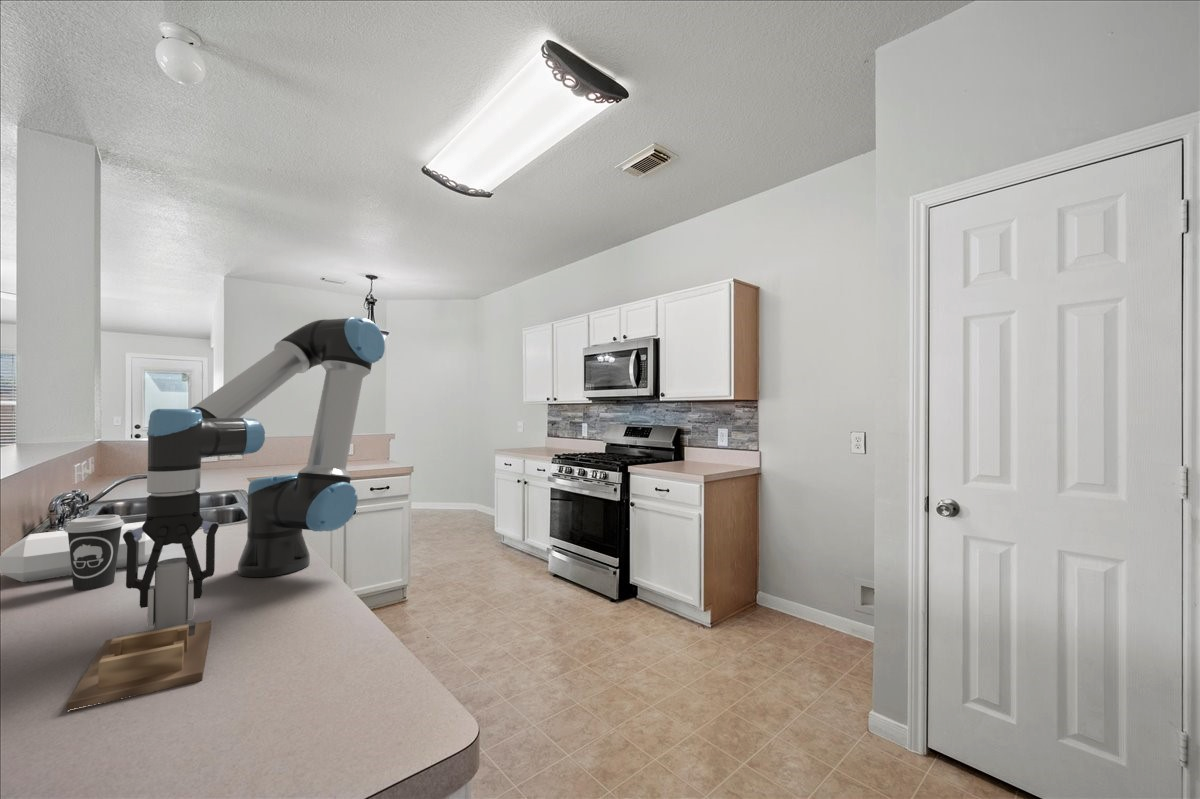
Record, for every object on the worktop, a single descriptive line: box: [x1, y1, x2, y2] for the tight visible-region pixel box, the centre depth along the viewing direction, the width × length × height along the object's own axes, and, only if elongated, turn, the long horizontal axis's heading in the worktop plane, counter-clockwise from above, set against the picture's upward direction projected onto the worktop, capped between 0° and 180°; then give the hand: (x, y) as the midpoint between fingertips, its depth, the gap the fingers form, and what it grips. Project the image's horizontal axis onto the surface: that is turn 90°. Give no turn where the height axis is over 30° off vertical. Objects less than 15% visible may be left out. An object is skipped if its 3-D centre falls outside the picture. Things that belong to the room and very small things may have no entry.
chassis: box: [66, 620, 212, 711], centre depth 80 cm, size 14×22×5 cm, turn 35°
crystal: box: [0, 521, 165, 583], centre depth 126 cm, size 14×10×28 cm
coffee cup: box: [64, 514, 126, 591], centre depth 114 cm, size 10×10×15 cm
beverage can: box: [153, 557, 190, 630], centre depth 93 cm, size 5×5×12 cm
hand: (171, 620), depth 92 cm, fingers closed on beverage can, 5 cm apart
